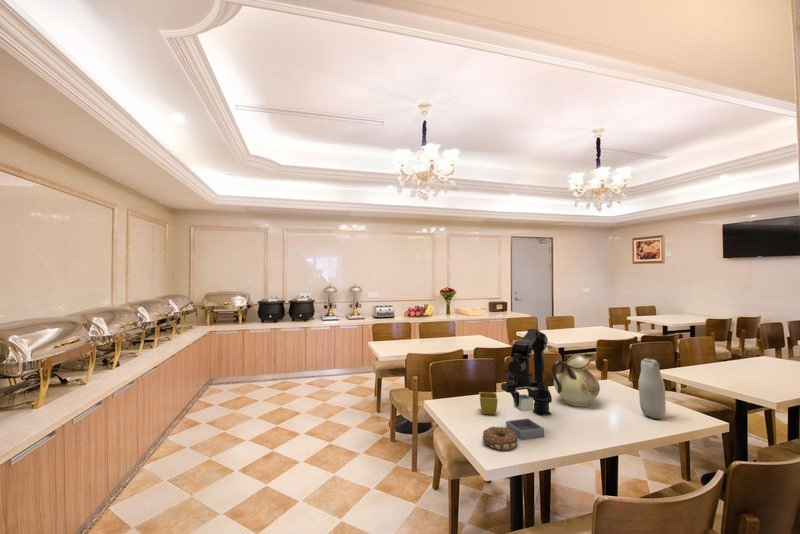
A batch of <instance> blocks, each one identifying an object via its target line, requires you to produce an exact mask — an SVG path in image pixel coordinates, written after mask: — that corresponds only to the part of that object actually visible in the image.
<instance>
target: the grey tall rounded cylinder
mask: <svg viewBox="0 0 800 534" xmlns="http://www.w3.org/2000/svg"><path fill="white" fill-rule="evenodd" d="M661 373H662V372H661V370H660V363H659V362H658V361H657V360H656V359H653V358H648V357H647V358H643V359H642V360H641V361H640V374H639V378H638V384H637V385H638V394H639V397H638V398H639V407H640V410H641V411H642V413H643V414H644V415H646V416H647V417H649V418H653V419H661V418H663V417H664V416H665V414H666V409H667V405H666V387H665V382H664V379H663V376H662V374H661Z"/></svg>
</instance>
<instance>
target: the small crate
mask: <svg viewBox="0 0 800 534" xmlns="http://www.w3.org/2000/svg"><path fill="white" fill-rule="evenodd" d="M513 408H514V409H517V410H518V411H520V412H528V411H529V412H530V411H533V410H534V400H533V398H531V397H529V396H528V395H527V394H525V393H523V394H519V405H518V407H516V405H515V402H514V401H513Z"/></svg>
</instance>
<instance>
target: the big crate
mask: <svg viewBox="0 0 800 534" xmlns="http://www.w3.org/2000/svg"><path fill="white" fill-rule="evenodd" d="M505 426H506V427H505V428H507V429H509V430H511V431H512V432H514V433H515V435H516V436H517V438H518V440H520V441H524V440H531V439H532V440H533V439H537V438H538V439H539V438H545V428H544V427H542V426H541V425H540V424H538V423H536V422H534V421H533V420H531V419H530V418H521V419H513V420H512V419H511V420H506V421H505Z"/></svg>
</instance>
